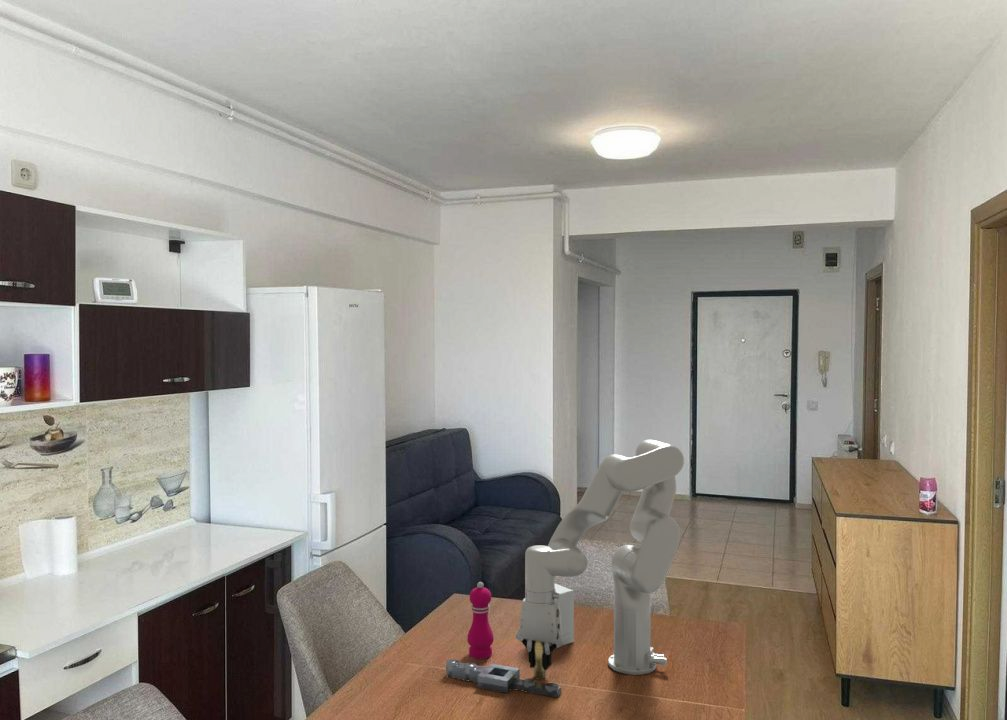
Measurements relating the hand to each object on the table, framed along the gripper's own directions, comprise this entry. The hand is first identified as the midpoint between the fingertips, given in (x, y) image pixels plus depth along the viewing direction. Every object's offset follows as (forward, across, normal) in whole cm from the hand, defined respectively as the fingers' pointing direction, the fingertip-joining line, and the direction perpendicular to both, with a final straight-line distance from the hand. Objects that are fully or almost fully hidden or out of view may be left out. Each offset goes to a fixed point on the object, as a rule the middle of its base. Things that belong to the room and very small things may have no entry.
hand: (540, 666), depth 198 cm
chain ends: (+3, +8, +8) cm, 12 cm away
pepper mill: (+3, +20, -7) cm, 21 cm away
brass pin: (+3, 0, 0) cm, 3 cm away
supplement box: (+3, +5, -24) cm, 25 cm away
